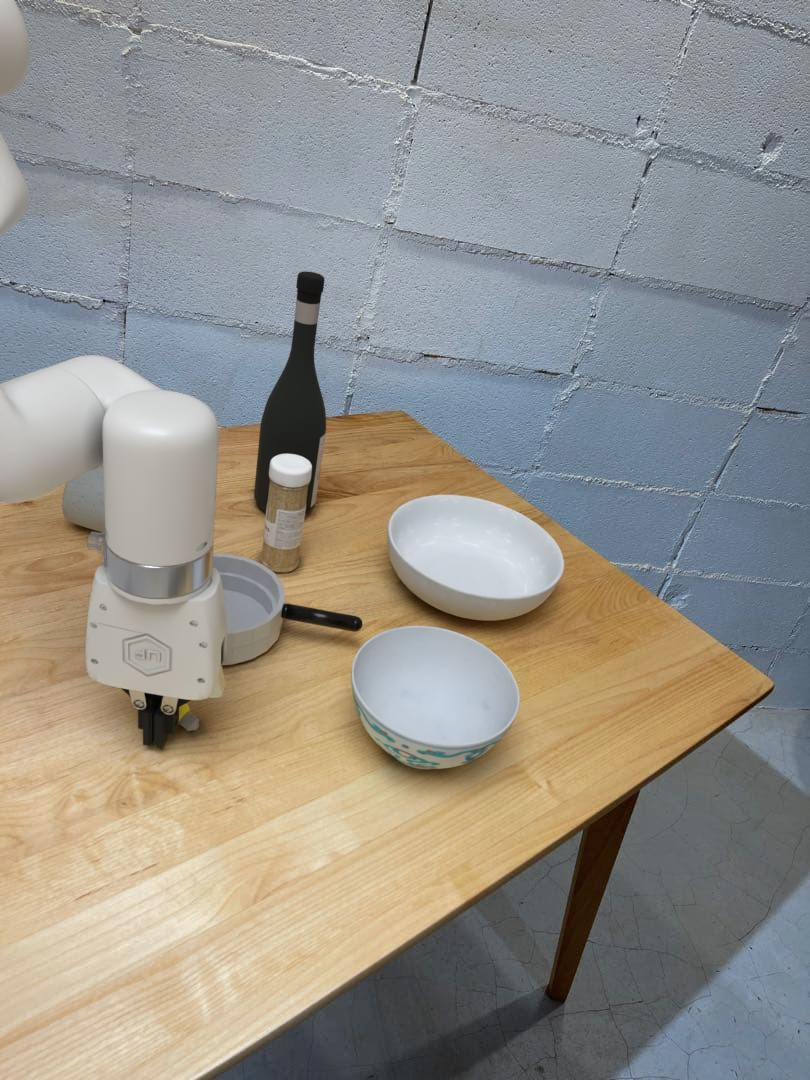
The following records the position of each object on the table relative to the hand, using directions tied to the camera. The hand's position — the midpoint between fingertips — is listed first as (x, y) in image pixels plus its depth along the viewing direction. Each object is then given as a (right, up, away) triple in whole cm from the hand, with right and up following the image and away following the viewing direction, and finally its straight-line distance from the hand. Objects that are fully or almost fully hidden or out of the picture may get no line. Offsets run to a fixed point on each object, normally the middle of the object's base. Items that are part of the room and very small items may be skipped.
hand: (158, 734), depth 70 cm
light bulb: (0, +1, +3) cm, 3 cm away
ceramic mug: (-13, +19, +27) cm, 35 cm away
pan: (+2, +8, +14) cm, 16 cm away
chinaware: (+22, -2, +6) cm, 23 cm away
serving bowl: (+28, +11, +28) cm, 41 cm away
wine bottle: (+5, +21, +37) cm, 42 cm away
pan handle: (+12, +8, +13) cm, 20 cm away
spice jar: (+6, +14, +26) cm, 30 cm away
